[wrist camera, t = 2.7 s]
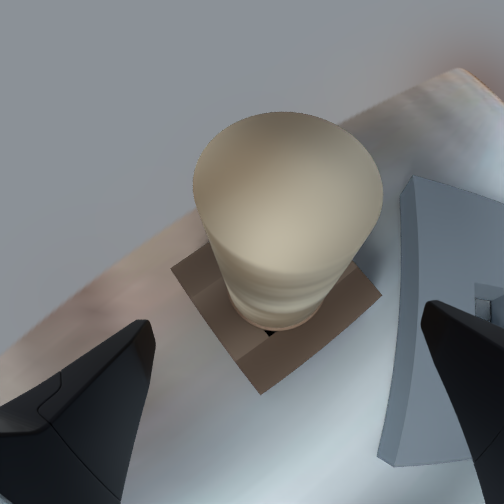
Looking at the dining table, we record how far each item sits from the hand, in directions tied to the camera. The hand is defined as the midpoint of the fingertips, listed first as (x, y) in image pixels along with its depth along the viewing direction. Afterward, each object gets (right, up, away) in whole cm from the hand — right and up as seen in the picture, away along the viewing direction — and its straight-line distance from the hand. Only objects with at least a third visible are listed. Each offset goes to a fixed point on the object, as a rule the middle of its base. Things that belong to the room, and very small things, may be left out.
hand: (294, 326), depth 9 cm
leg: (0, -1, +11) cm, 11 cm away
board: (+16, -3, +9) cm, 19 cm away
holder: (0, -1, +11) cm, 11 cm away
